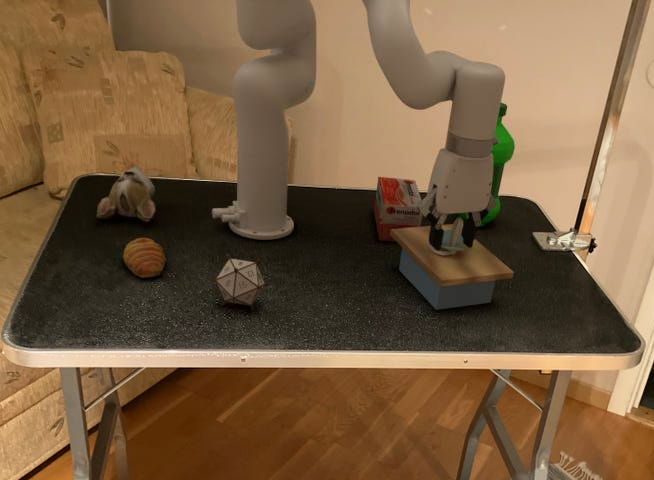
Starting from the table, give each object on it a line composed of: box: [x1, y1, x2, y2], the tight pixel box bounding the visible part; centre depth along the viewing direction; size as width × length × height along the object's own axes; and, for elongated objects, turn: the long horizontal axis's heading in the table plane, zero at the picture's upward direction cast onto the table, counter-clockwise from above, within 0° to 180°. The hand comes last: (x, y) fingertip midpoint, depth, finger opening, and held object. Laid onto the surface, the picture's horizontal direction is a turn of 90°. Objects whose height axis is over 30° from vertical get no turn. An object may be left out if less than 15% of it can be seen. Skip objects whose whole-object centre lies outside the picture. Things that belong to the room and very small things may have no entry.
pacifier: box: [429, 216, 465, 255], centre depth 129 cm, size 7×6×6 cm
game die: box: [209, 252, 271, 311], centre depth 120 cm, size 9×8×10 cm
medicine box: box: [373, 176, 424, 243], centre depth 152 cm, size 15×8×8 cm, turn 6°
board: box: [390, 223, 515, 287], centre depth 132 cm, size 14×20×1 cm
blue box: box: [398, 247, 496, 310], centre depth 134 cm, size 11×15×6 cm
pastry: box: [122, 237, 167, 279], centre depth 127 cm, size 9×7×4 cm
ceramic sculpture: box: [95, 164, 157, 223], centre depth 143 cm, size 11×9×15 cm
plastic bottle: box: [456, 102, 516, 227], centre depth 155 cm, size 10×10×25 cm
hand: (450, 244), depth 131 cm, fingers closed on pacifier, 5 cm apart
